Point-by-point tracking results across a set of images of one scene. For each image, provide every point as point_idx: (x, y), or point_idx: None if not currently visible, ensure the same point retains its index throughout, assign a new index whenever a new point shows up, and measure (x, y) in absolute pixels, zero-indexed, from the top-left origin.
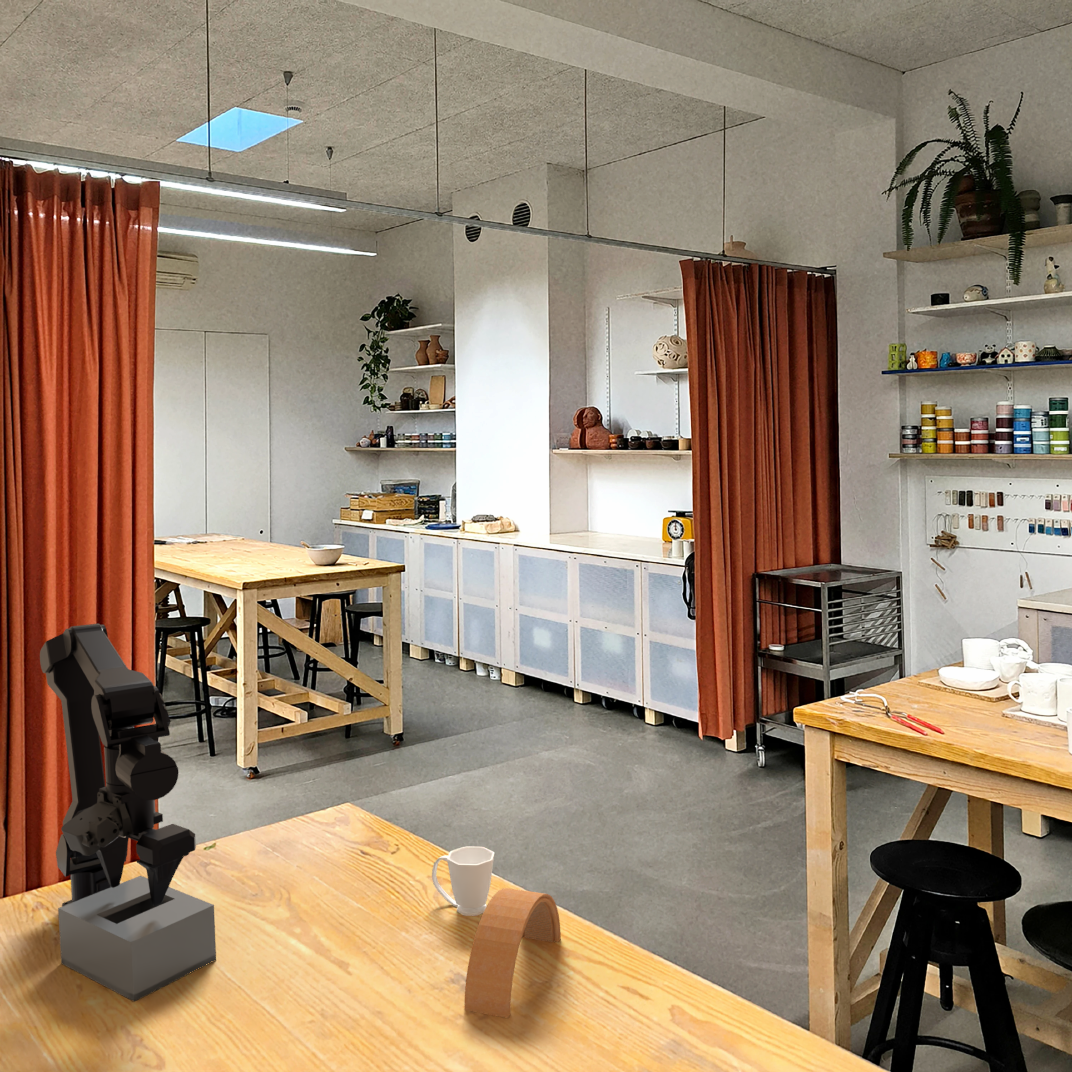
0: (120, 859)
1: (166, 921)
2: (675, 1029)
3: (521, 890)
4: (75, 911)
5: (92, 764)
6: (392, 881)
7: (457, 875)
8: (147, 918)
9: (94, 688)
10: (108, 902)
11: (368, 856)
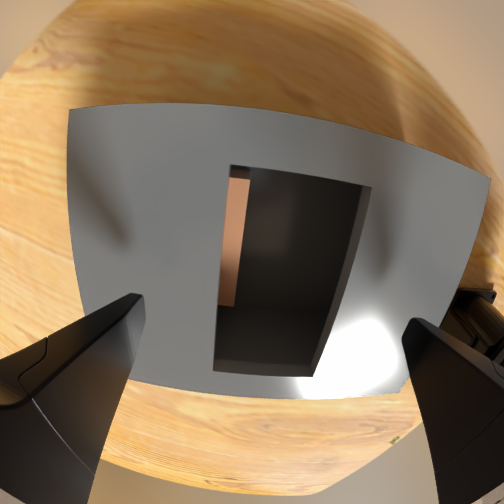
0: (435, 414)
1: (96, 265)
2: None
3: None
4: (445, 178)
5: None
6: (157, 458)
7: None
8: (164, 253)
9: None
10: (394, 273)
11: (221, 476)
